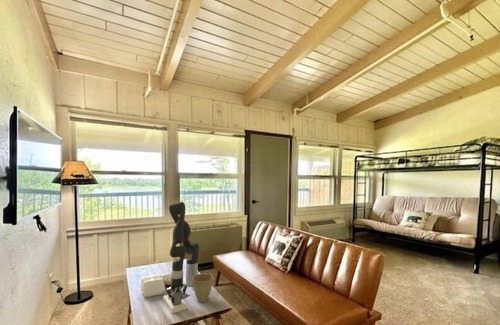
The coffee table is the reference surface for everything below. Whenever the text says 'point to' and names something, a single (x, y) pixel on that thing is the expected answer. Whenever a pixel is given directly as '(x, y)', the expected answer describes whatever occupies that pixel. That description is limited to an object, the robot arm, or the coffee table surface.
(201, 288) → the plant pot
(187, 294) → the phone slab
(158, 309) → the coffee table surface
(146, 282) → the cable organizer
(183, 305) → the outlet plate
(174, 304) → the block
